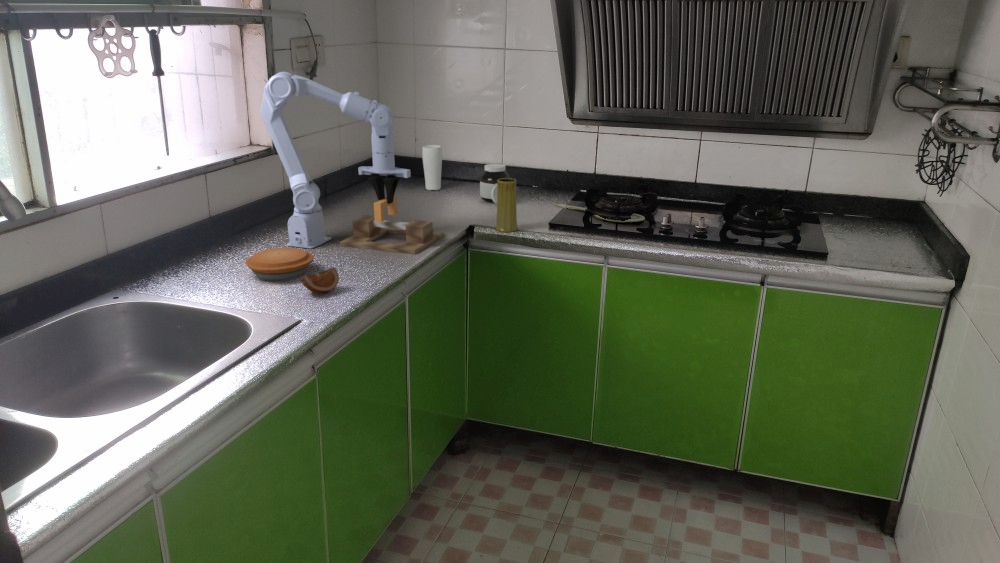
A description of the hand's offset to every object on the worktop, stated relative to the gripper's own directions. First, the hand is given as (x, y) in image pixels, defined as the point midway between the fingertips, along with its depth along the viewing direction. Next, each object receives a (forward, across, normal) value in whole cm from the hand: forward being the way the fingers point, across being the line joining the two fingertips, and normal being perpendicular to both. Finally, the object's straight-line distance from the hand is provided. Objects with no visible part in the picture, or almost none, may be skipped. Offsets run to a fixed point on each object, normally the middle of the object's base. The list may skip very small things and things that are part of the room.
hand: (386, 202), depth 198 cm
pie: (+10, +10, +34) cm, 37 cm away
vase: (+10, -27, -20) cm, 35 cm away
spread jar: (+10, -14, -50) cm, 53 cm away
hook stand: (+10, -2, +1) cm, 10 cm away
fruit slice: (+10, -6, +42) cm, 44 cm away
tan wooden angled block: (+4, 0, 0) cm, 4 cm away
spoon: (+11, -48, -44) cm, 66 cm away
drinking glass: (+10, +14, -60) cm, 62 cm away
